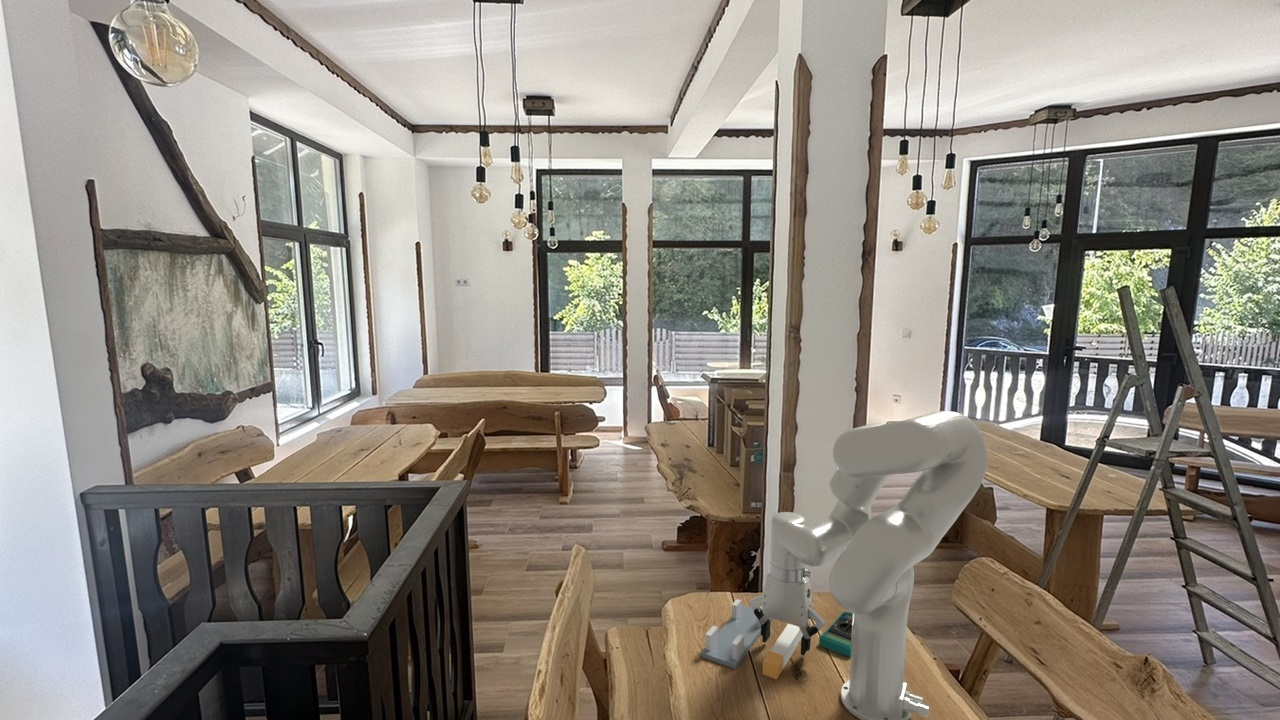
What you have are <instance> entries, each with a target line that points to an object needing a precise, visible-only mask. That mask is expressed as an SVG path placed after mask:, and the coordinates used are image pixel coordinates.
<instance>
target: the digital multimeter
mask: <svg viewBox="0 0 1280 720" xmlns="http://www.w3.org/2000/svg"><path fill="white" fill-rule="evenodd" d="M852 618H853V613H851V612H849V611H846V610H845V611H841V612H840V614H839V615H838V617H837V618H836V619H835V620H834V621H833V623H831V625H830V626H829V627H828V628H827V629H825V631H824V632H822V634H821V635H820V636H819V637H818V645H819V646H820V647H822V648H825V649H827V650H829V651H832V652H834V653H837V654H839V655H842V656H845V657H848V658H851V637H852Z"/></svg>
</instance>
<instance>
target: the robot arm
mask: <svg viewBox="0 0 1280 720" xmlns="http://www.w3.org/2000/svg"><path fill="white" fill-rule="evenodd" d="M836 438H837V439H836V440H835V442H834V445H833V448H832V457H833V461H834V463H835V465H836V467H837V469H836V470H835V472H834V474H833V475H832V477H831V479H830V482H829V488H830V491H831V493H832V495H833V496H834V497H835V498H836V500H838V501H837V503H836V504H835V506H834V508H833V510H832V511H831V513H830V514H829V516H827V518H826V519H824V520H822V521H818V522H816V523H814V524H811V525H808V522H807V520H806V518H805V517H804V516H803V515H801V514H799V513H797V512H791V511H781V512H777V513H776V514H774V515H773V516H772V517H771V520H770V523H771V524H770V547H769V548H770V552H769V553H770V554H769V569H768V571H767V572H766V576H765V579H764V586H763V591H762V594H760V595H758V596H756V597H752V598H751V599H750V600H749V602H748V604H749V607H751V608H752V609H753V611H754V614H755V615H756V617H757V618H758V619H759V623H760V624H761V634H760V636H761V637H762V639H761V640H762V643H767V641H768V640H769V639H770V638H771V621H772V620H776V621H778V622H782V623H785V624H787V625H788V624H791V625H794V626H798V627H799V628H800V630H801V632H802V634H803V636H802V638H801V640H800V655H801V656H805V654H806V653H807V652H809V651H810V649H811V641H812V639H811V637H813V636H814V635H816V634H817V633H818V632H819V631H820V630H821V629H822V628H823V627H824V626H825V624H826V620H825V619H824V618H823V617H822V616H820V614H818V612H817V611H816V610H814V609H813V602H812V600H813V599H812V589H811V582H810V579H809V578H812V577H813V571H812V570H809V569H808V567H819V566H821V565H823V564H826V563H829V562H830V561H832V560H833V559H835V558H837V557H838V558H837V560H836V561H835V562H834V564H833V566H832V568H831V571H830V573H829V589H830V592H831V595H832V597H833V599H834V601H835V602H836V603H837V605H838V606H840V608H842V609H843V610H845V611H846V612H849V613H853V618H852V637H851V657H850V662H849V663H850V665H849V679H848V680H847V681H845V682H844V683H843V684H842V686H841V687H840V700H841V702H842V704H843V706H844V707H845V709H846V710H847V711H848V712H850V713H851V714H852V715H853V716H855V717H856V718H857V719H859V720H910V718H911V716H912V713H914V714H916V715H919V716H921V717H924V718H929V711H930V709H929V708H930V706H928V705H926V704H924V697H922V696H919V695H915V694H913V693H910V692H911V691H908V690H907V686H908V683H907V682H904V681H905V679H904V677H905V663H906V662H905V661H906V659H905V658H906V642H907V639H906V638H907V627H908V616H909V615H908V614H909V609H910V601H911V597H912V594H913V593H912V592H913V590H914V589H913V588H914V582H915V572H914V571H915V570H914V567H913V566H915V565H917V564H918V563H920V562H921V561H923V560H925V559H926V558H927V557H929V556H930V555H931V554H932V553H933V552H934V551H935V549H936V547H937V546H938V545H939V543H940V542H941V540H943V539H942V538H943V537H945V535H946V534H947V533H948V531H949V530H950V528H951V527H952V526H953V525H954V523H955V522H956V521H957V519H958V518H959V516H960V515H961V514H962V512H963V511H964V510H965V508H966V507H967V506H968V504H969V503H970V502H971V500H972V499H973V498H974V496H975V495H976V493H977V491H978V490H979V489H980V487H981V485H982V484H983V483H982V482H983V480H984V477H985V475H986V471H987V467H988V449H987V445H986V442H985V439H984V436H983V434H982V432H981V431H980V429H979V427H978V426H977V425H976V423H975V422H974V421H973V420H971V419H970V418H969V417H968V416H966V415H965V414H963V413H960V412H956V411H953V410H952V411H950V410H941V411H934V412H930V413H927V414H922V415H919V416H915V417H912V418H908V419H904V420H899V421H895V422H890V423H885V424H884V423H881V422H880V423H877V422H876V423H870V424H865V425H862V426H858V427H854V428H850V429H848V430H845V431H844V432H842V433H841V434H840V435H839V436H838V437H836ZM917 472H918V473H919V472H922V473H920V474H919V476H918V477H916V479H915V481H914V482H913V483H912V485H910V488H909V489H908V491H906V493H905V495H904V496H903V497H902V499H901V500H900V501H899V502H898V503H897V504H896V505H895V506H893V507H891V508H889V509H888V510H886V511H884V512H882V513H879V514H877V515H875V516H873V517H871V514H872V504H873V502H874V501H875V499H876V498H877V496H878V495H879V494H880V492H881V489H882V488H883V487H884V485H885V484H886V483H887V481H888V479H889V478H890V476H894V475H902V474H911V473H917ZM807 566H808V567H807ZM759 604H761V606H762V609H761V608H760V607H761V606H759ZM769 618H772V619H771V621H770V619H769ZM809 620H812V621H814V623H815V624H814V625H811V624H810V622H809Z"/></svg>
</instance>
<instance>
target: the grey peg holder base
mask: <svg viewBox="0 0 1280 720" xmlns="http://www.w3.org/2000/svg"><path fill="white" fill-rule="evenodd" d="M759 607H760V608H761V609H762V605H761V606H759ZM769 619H770V621H772V620H773V619H772V618H769ZM760 636H761V624H760V623H759V619H758V618H757V617H756V615H755V614H754V611H753V609H752V608H751V606H747V605H744V604H742V599H738V598H736V600H734V601H733V603H731V617H730V618H729V619H728V620H727V621H726V622H725V624H723V626H722V627H721V628H720V630H719V627H718V626H717V625H712V626H711V627H710V628H709V630H707V632H706V633H705V642H704V644H705V645H704V648H703V649H702V651H701V652H700V657H701V658H704V659H707V660H709V661H712V662H715V663H718V664H720V665H722V666H726V667H729V668H731V669H734V670H736V669H737V667H738V666H739V665H740V663H741V662H742V660H743V659H744V658H745V656H746V655H747V654H748V653H749V650H751V648H752V647H753V646H754V644H755V642H756V641H757V640H758V638H759V637H760Z"/></svg>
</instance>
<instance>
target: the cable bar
mask: <svg viewBox="0 0 1280 720" xmlns="http://www.w3.org/2000/svg"><path fill="white" fill-rule="evenodd" d="M802 636H803V634H802V632H801V630H800V628H799V627H798V626H794V625H791V624H788V623H787V625H786V626H785V627H784V629H783V631H782V632H781V633H780V635H779V636H778V638H777V640H776V641H775V643H774V644H773V645H772V647H771V648H770V650H769V651H768V653H767V654H766V655H765V657H764V659H763V660H762V675H764V676H767V677H768V678H771V679H774V680H777V679H779V676H780V675H781V673H782V672H783V670H784V668H785V666H786V665H787V663H788V661H789V660H790V658H791V656H792V655H793V654H794V651H795V650H796V648H797V647H798V645H799V643H801V638H802Z"/></svg>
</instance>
